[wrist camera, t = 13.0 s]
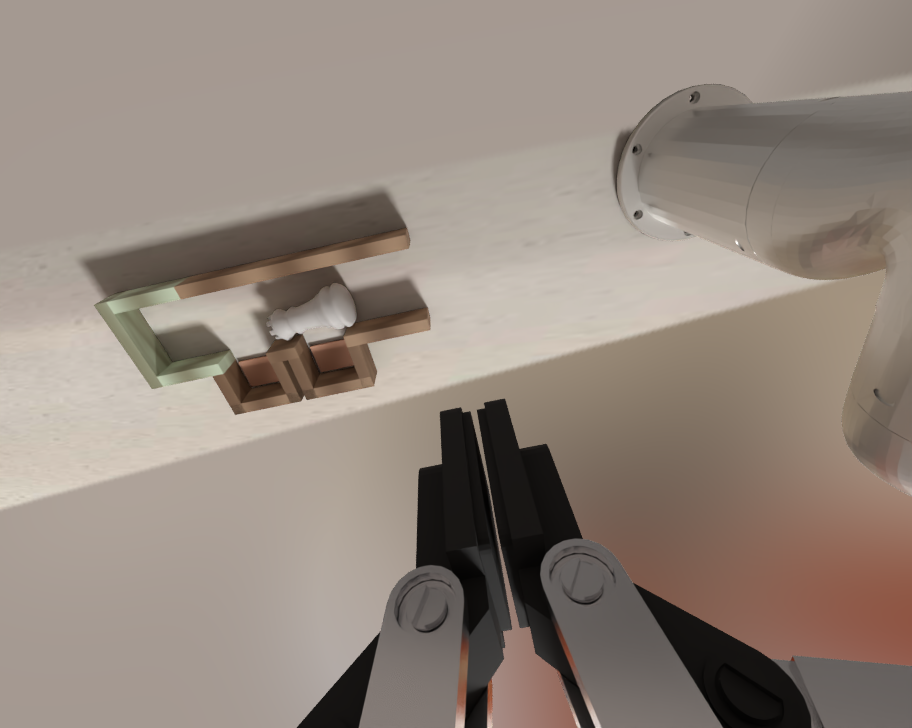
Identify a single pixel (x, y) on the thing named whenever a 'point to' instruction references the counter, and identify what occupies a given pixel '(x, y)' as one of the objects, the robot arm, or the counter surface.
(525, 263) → the counter surface
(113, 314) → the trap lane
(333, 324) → the rook chess piece
